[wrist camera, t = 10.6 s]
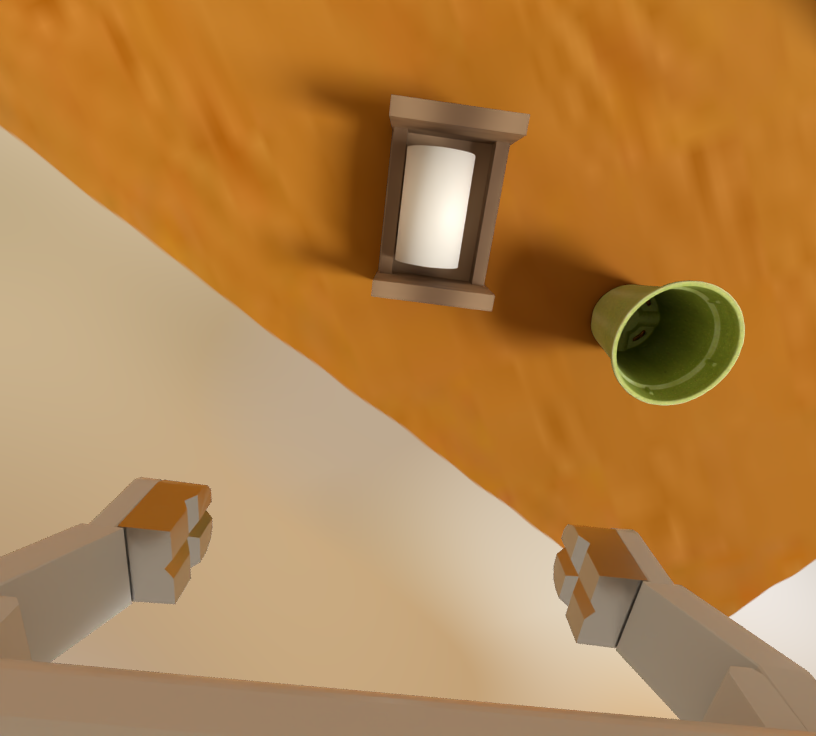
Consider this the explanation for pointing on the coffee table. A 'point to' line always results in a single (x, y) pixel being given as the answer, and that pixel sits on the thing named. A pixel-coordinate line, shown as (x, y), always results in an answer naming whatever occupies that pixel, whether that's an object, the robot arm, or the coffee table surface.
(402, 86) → the coffee table surface
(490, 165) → the walnut cradle
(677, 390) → the plant pot
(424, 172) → the paper roll
